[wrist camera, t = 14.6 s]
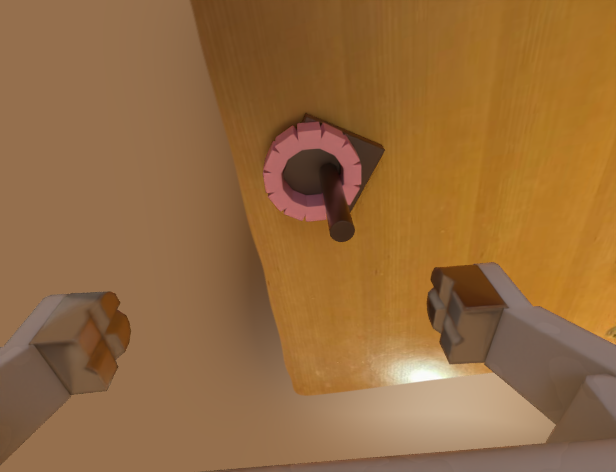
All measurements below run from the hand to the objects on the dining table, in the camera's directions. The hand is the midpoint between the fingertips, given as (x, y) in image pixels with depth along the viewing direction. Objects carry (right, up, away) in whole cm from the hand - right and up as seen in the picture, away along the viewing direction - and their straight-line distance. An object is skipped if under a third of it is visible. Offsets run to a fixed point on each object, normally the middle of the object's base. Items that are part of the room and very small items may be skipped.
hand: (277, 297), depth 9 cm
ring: (+1, +9, +29) cm, 30 cm away
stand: (+3, +9, +30) cm, 32 cm away
